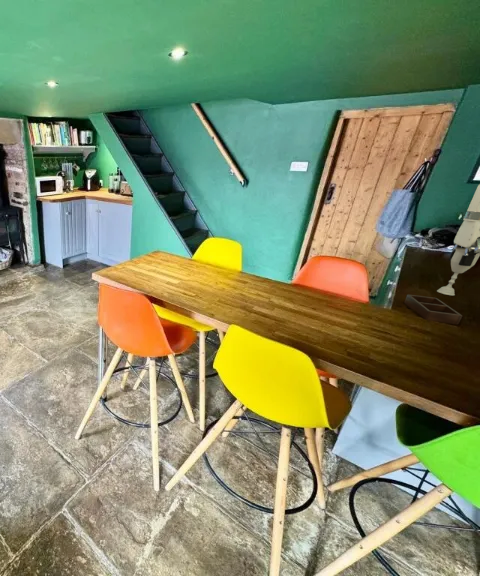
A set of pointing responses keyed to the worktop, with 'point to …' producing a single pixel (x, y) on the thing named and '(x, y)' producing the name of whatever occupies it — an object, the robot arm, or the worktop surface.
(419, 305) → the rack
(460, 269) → the chalice
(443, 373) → the worktop surface
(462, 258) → the robot arm
